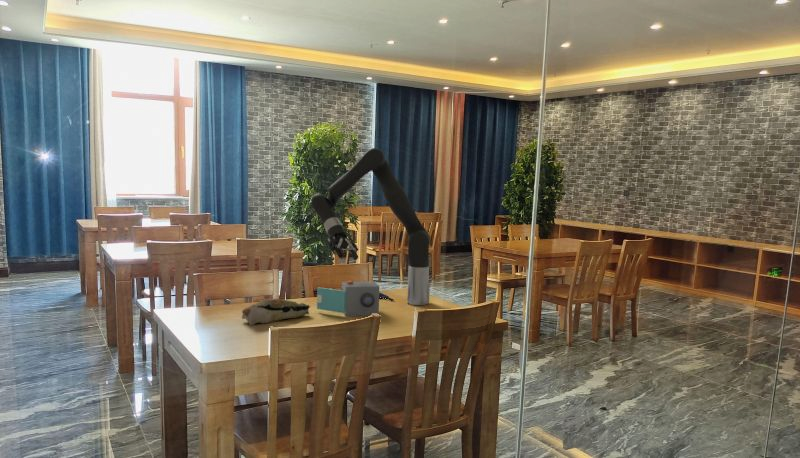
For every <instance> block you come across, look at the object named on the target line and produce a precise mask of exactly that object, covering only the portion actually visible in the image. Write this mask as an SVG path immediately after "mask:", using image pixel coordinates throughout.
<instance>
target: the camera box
mask: <svg viewBox="0 0 800 458" xmlns="http://www.w3.org/2000/svg"><path fill="white" fill-rule="evenodd" d="M341 290H342V291H345V313H343V315H344V316H345V317H355V316H359V317H360V316H371V315H370V314H372V313H378V314H379V315H380V313H379V312H380V310H379V309H380V299H379V292H380V285H379V284H378V283H376V281H354V280H347V281H342V282H341Z"/></svg>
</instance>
